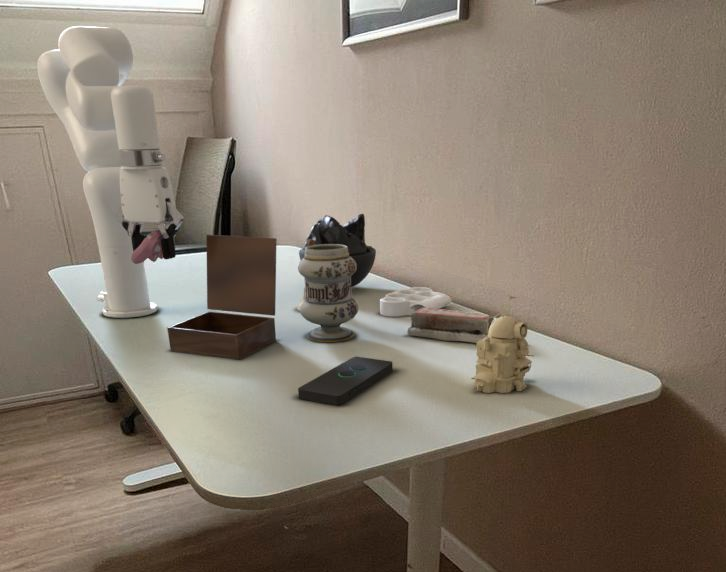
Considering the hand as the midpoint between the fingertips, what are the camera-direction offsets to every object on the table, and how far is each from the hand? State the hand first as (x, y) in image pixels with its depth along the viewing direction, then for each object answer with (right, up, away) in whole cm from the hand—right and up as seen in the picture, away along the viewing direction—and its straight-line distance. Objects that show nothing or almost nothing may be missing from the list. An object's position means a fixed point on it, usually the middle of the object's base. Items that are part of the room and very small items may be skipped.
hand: (154, 256), depth 144 cm
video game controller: (0, -1, 0) cm, 1 cm away
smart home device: (+39, -29, -22) cm, 53 cm away
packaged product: (+61, -15, +5) cm, 63 cm away
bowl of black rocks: (+36, +6, +46) cm, 58 cm away
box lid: (+17, -4, +1) cm, 17 cm away
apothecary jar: (+35, -15, +5) cm, 39 cm away
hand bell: (+30, -4, +27) cm, 41 cm away
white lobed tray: (+54, -5, +25) cm, 60 cm away
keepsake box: (+14, -18, 0) cm, 23 cm away
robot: (+66, -30, -24) cm, 76 cm away
